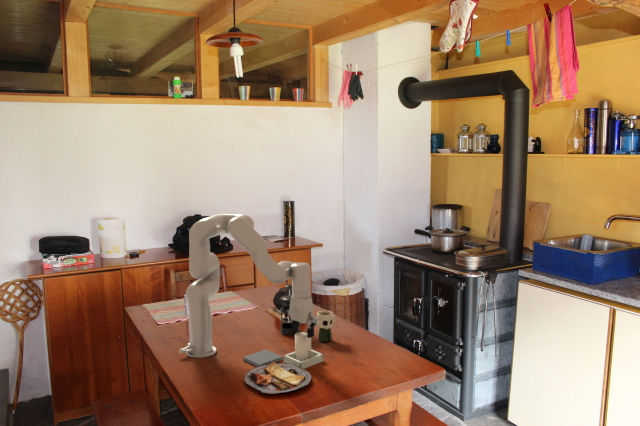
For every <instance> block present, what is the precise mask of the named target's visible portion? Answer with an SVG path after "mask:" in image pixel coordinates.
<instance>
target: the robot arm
mask: <svg viewBox="0 0 640 426" xmlns="http://www.w3.org/2000/svg"><path fill="white" fill-rule="evenodd" d="M222 234H228V235H230V236H231V237H232V238H233V239H234V240H235V241H236V243H238V244H239V245H240V246H241V247H242V248H243V249H244V250H245V251H246V252H247V253H248V254H249V255H250V257H251V259H252V262H253V263H254V265H255V266H256V268H257V269H258V271H259V272H260V273H261V275H263V276H264V277H265V278H266V279H267V280H268V281H269V282H271V283H272V284H275V285H281V284H283V283H285V282H286V281H287V280H290V279H291V285H292V287H291V291H292V292H291V295H292V296H291V300H290V308H288V310H287V312H288V316H289V318H290V322H292V323H291V331H292V332H295V331H298V322H299V323H303V324H306V325H307V328H306V329H307V330H306V333H307V337H308V338H310V337H311V338H312V337H315V327H316V326H317V325H316V324H317V321H318V318H317V315H315V314H314V305H313V297H312V294H311V293H312V289H311V265H310V264H309V263H307V262H302V261H300V262H294V261H289V260H281V261H279V262H278V263H277V262H276V260H274V259H273V258H272V257H271V255H270V253H269V252H268V249H267V242H266V241H267V240H266V239H265V238H264V237H263V236H262V235H261V234H259V232H258V231H256V230H255V223H254V219H252V217H250V216H249V215H248V214H238V213H237V214H232V213H230V214H229V213H220V214H219V213H218V214H213V215H211V216H208V217H204V218H202V219H199V220H198V221H196V222H195V223H193V225H192V226H191V227H190V229H189V235H188V236H189V237H188V238H189V239H188V242H189V244H188V245H189V246H188V248H189V253H188V255H189V256H188V270H189V271H188V272H189V274H190V276H191V277H192V278H195V279H196V280H195V281H193V282H192V283H190V284H189V286H188V287H187V289H186V291H185V300H186V305H187V310H188V312H187V313H188V329H189V332H188V333H189V334H188V335H189V342H188V343H187V345H186V346H185V347H182V348H179V349H178V350H179V353H180V354H183V353H185V354H186V355H187V356H188V357H190V358H192V359H193V358H195V359H201V358H207V357H208V358H209V357H211V356H213V355H214V354H216V353H217V347H216V346H214V345H213V323H212V322H213V320H212V319H213V318H212V308H211V305H210V301H209V300H210V299H211V298H213V297H214V296H216V295H217V293H218V292H219V289H220V273H221V272H220V271H221V270H220V267H221V266H220V264H221V263H220V260H219V257H218V256H217V255H216V253H214V252H211V244H210V239H211V238H214V237H217V236H220V235H222ZM315 325H316V326H315Z"/></svg>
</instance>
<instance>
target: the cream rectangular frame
mask: <svg viewBox="0 0 640 426" xmlns="http://www.w3.org/2000/svg"><path fill="white" fill-rule="evenodd" d="M322 362H324V353H321V352H318V351H316V350H314V349H311V351H309V352H308V359H306V360H304V361H299V360H296V359H295V351H292V352H289V353H287V354H284V355H283V364H289V365H293V366H297V367H300V368H303V370H304V369H305V370H306V369H307V368H309V367H312V366H315V365H317V364H320V363H322Z"/></svg>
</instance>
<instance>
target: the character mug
mask: <svg viewBox="0 0 640 426" xmlns="http://www.w3.org/2000/svg"><path fill="white" fill-rule="evenodd" d="M316 317H317V318H318V321H317V324H316V325H315V327H316V326H317V328H319V330H318V338H317V340H318V341H320V342H326V343H328V342H331V341H332V340H333V337H332V336H333V335H332V329H331V328H332V327H333V325H334V323H335V322H336V314H334V313H333V312H332V311H331V310H319V311H318V312H317V314H316Z"/></svg>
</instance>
